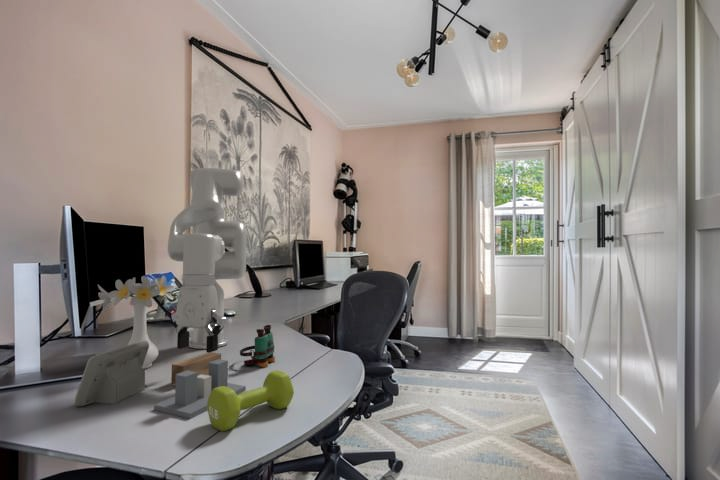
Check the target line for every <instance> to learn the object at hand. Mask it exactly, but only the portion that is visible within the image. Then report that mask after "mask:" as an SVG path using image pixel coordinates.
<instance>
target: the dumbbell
mask: <svg viewBox="0 0 720 480" xmlns="http://www.w3.org/2000/svg"><path fill="white" fill-rule="evenodd" d="M294 394H295V390H294V387H293V383H292V378H291V377H290V375H289V374H288V373H287V372H285V371H281V370H279V369H277V370H272V371H270V372H269V373H268V374H267V375H266V377H265V379H264V382H263V384H262V386H261V387H257V388H253V389H251V390H247V391H244V392H242V393H240V394H238V395H236V393H235V391H234V390H232V389H231V388H229V387H226V386H220V387H217V388H214V389H213V390H212V391H211V393H210V396H209V399H208V402H207V414H208V418H209V422H210V424H211V426H212V427H214V428H215V429H217V430H219V431H220V432H226V431H229V430H232V429H233V428H234V427H235V426H236V424H237V423H238V421H239V417H240V414H241V411H244V410H248V409H252V408H253V407H256V406H258V405H262V404H264V403H266V404H268V406H270V407H271V408H273V409H276V410H282V409H285V408H287V407H288V406H290V404H291V403H292V399H293V397H294Z"/></svg>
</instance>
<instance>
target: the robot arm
mask: <svg viewBox="0 0 720 480" xmlns="http://www.w3.org/2000/svg"><path fill="white" fill-rule="evenodd" d="M244 180H245V179H244V175H243V173H242V171H240V169H239V170H238V169H232V168H215V167H214V168H212V167H199V168H198V167H197V168H195V169H193V170H191V171H190V173H189V183H190V188H191V191H192V193H191V203H190V205H188V206H187V207H185V208H184V209H183V210H182V211H180V212H179V213H178V214H177V216H176V217H174V218H173V220H172V222H171V225H170V228H169V235H168V239H167V255H168V257H169V258H170V260H172V261H175V262H182V278H181V282H182V286H180V288H179V291H178V296H177V300H176V301H177V303H176V310H175V312H174V313H172V314H171V320H172V322H173V326H174V328H175V333H176V334H177V346H176V347H177V349H178V350H182V349H185V348H191V349H198V350H206V353H210V352H213V353H214V352H216V351H218V349H219V348H220V347H224V346H226V345H228V344H229V339H228V338H227V337H224V328H225V324H226V322H227V318H226V316H224V315H225V291H224V289H223V288H222V286H221V285H220V284H219V282H217V280H236V279H242V278H244V277H245V275H246V272H247V229H246V227H245V224H244V223H242V222H241V221H236V220H225V206H224V205H223V203H222V202H223V201H222V200H223V197H222V196H225V197H240V196H241V195H242V194H243V190H244V184H245V181H244ZM196 225H197V232H189V233H184V232H185V231H187V229H189V228H191V227H194V226H196ZM226 249H231V250H232V251H226ZM190 328H193V329H191V330H189V329H190ZM190 338H191V339H190Z"/></svg>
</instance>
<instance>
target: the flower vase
mask: <svg viewBox="0 0 720 480" xmlns="http://www.w3.org/2000/svg"><path fill="white" fill-rule="evenodd" d="M140 279H141V280H140V281H141V283H138V282H137V283H136V277H133V278H130V279H126V281H125V282H124V283H123V281H122V280H121V279H117V280H115V282H114V284H115V288H116V289H117V290H112V291H110V292H107V290H105V289H104V288H103V287H102V286H100V285H99V284H97V287H98V290H100V292H98V293H97V294H98V298H99V299H100V300H102V301H103V302H102V311H103V312H105V311H106V310H108V305H109V304H110V302H111V300H112V299H114V300H113V303H112V305H113V306H118V304H119V303H120V302H121V301H122V300H124V299H125V300H128V299H129V298H130V297H131V298H130V300H129V305H130V306H133V327H132V328H133V329H132V335H131V338H130V340H129V341H128V343H127V345H129V344H132V343H136V342H139V341H147V342H148V343H149V348H148V351H147V354H146V357H145V360H144V363H143V366H142V368H143V369H144V370H146V369H148V368H150V367H152V365H153V362H154V361H156V359H157V358H158V356H159V353H160V352H159V350H158V346H156V345H155V344H154V343H153V342H152V341H151V340H150V338H149V337H150V336H149V335H148V329H147V312H148V311H147V309H148V308H151V307H153V300H152V298H153V297H156V296H159V295H160V296H162V297H163V296H165V297H166V298H168V299H169V300H171V301H173V300H174V297H173V295H172V294H171V293H170V292H174V291H175V289H176V288H175V286H174V285H172V284H171V285H170V284H167V278H166V276H165V275H162V276H161V277H156V278H154V279H153V280H151V281H150V279H149V278H148V277H147V276H146V275H142V276H141V278H140Z"/></svg>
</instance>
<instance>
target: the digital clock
mask: <svg viewBox="0 0 720 480" xmlns="http://www.w3.org/2000/svg"><path fill="white" fill-rule="evenodd" d="M148 348H149V343H148V342H147V341H139V342H136V343H132V344H129V345H128V344H126V345H123V346H121V347H116V348H114V349H111V350H107V351H105V352H102V353H98V354H95V355H93V356H91V357H89V358H88V360H87V363H86V365H85V368H84V371H83V374H82V377H81V379H80V382H79V385H78V388H77V391H76V394H75V398H74V406H76V407H85V406H87V405H90V404H92V403H98V402H99V403H101V404H109V403H110V404H109V405H114V404H116V403H119V402H121V401H122V400H124V399H127V398H129V397H130V396H132V395H135V394H137V393H139V392H141V391H143V390H145V388H146V369H143V368H142V366H143V363H144V360H145V357H146V354H147V351H148Z"/></svg>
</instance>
